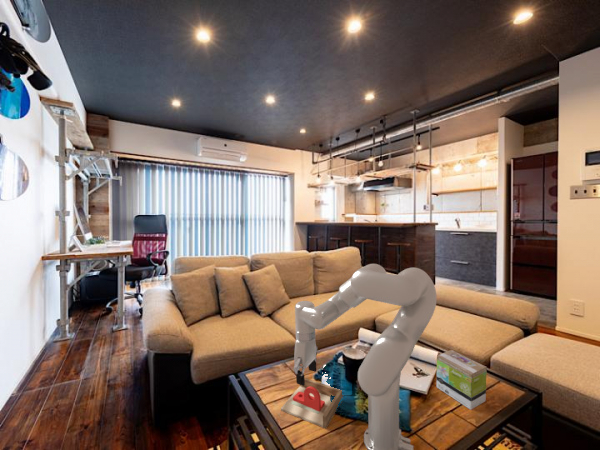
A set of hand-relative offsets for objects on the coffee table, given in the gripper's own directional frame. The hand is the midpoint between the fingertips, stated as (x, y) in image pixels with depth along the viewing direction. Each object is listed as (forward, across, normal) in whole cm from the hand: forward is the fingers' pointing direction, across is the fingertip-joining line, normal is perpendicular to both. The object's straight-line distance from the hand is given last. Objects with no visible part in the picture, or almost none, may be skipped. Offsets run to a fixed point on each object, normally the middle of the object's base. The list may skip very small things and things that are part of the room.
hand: (306, 377), depth 108 cm
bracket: (+11, -1, 0) cm, 11 cm away
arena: (+12, -2, +1) cm, 12 cm away
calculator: (+13, -21, +4) cm, 25 cm away
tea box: (+13, -35, +52) cm, 64 cm away
